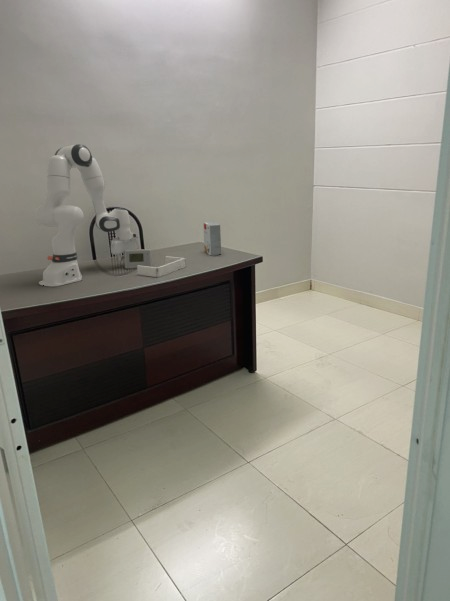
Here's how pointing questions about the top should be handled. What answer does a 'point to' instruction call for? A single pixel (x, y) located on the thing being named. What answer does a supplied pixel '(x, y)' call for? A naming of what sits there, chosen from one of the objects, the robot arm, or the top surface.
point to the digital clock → (137, 258)
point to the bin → (163, 267)
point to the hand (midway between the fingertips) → (125, 259)
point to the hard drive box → (212, 238)
